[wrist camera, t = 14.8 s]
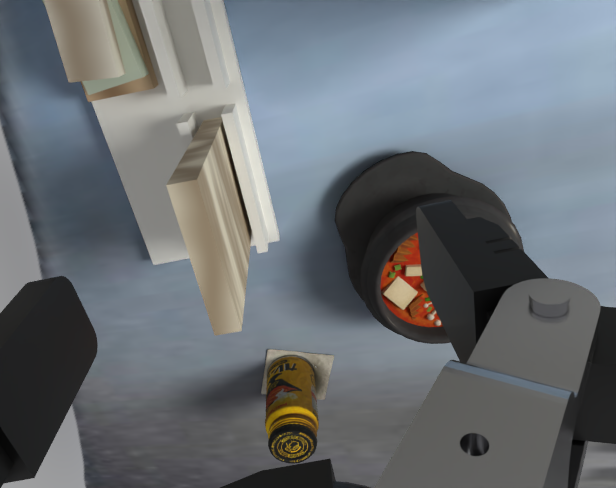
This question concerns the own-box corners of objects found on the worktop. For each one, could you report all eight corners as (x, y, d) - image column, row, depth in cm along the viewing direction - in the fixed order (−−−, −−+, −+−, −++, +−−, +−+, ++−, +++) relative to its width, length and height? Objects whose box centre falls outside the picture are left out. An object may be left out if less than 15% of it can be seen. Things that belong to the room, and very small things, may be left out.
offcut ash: (97, -36, 38) (88, -38, 36) (125, 73, 42) (118, 77, 40) (45, -31, 38) (34, -32, 36) (77, 79, 42) (68, 82, 40)
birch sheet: (223, 116, 48) (196, 179, 31) (252, 228, 53) (241, 330, 37) (203, 120, 48) (166, 185, 32) (233, 231, 53) (215, 335, 37)
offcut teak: (111, -66, 40) (103, -69, 39) (158, 84, 46) (153, 88, 44) (40, -50, 41) (29, -52, 39) (95, 97, 46) (88, 102, 44)
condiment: (267, 348, 62) (265, 422, 52) (334, 354, 63) (345, 428, 53) (260, 392, 65) (257, 470, 55) (324, 397, 66) (333, 475, 56)
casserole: (546, 272, 59) (585, 313, 52) (416, 354, 64) (434, 402, 56) (437, 107, 50) (466, 127, 42) (293, 216, 54) (296, 252, 47)
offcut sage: (94, -54, 39) (85, -57, 37) (149, 73, 44) (143, 77, 42) (36, -34, 40) (24, -35, 38) (96, 90, 44) (88, 95, 42)
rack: (196, -112, 41) (185, -126, 36) (279, 234, 55) (279, 258, 50) (31, -75, 41) (-2, -85, 36) (156, 258, 56) (144, 284, 51)
